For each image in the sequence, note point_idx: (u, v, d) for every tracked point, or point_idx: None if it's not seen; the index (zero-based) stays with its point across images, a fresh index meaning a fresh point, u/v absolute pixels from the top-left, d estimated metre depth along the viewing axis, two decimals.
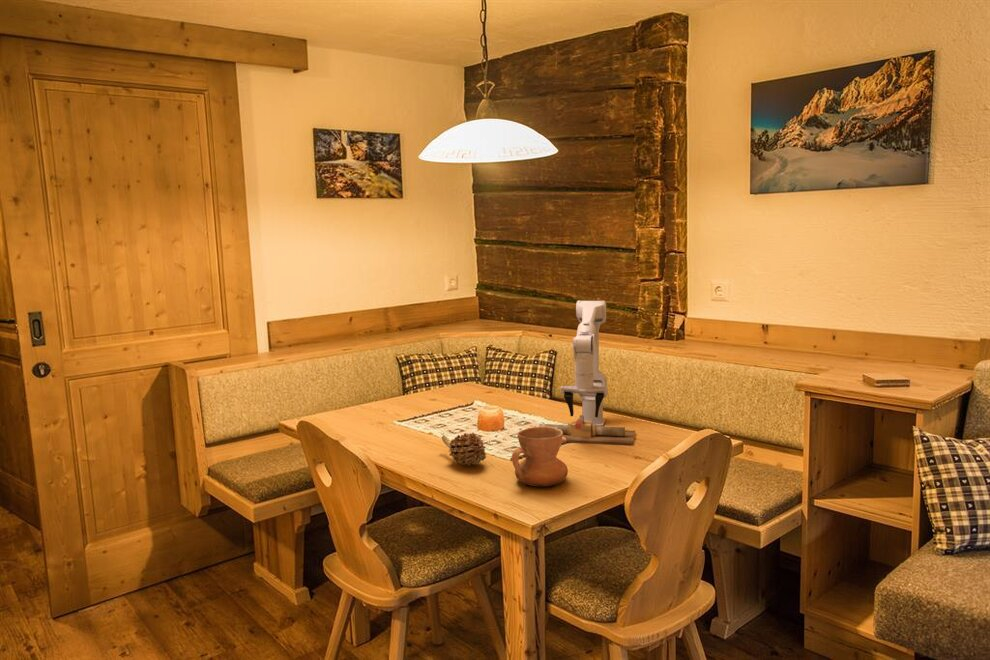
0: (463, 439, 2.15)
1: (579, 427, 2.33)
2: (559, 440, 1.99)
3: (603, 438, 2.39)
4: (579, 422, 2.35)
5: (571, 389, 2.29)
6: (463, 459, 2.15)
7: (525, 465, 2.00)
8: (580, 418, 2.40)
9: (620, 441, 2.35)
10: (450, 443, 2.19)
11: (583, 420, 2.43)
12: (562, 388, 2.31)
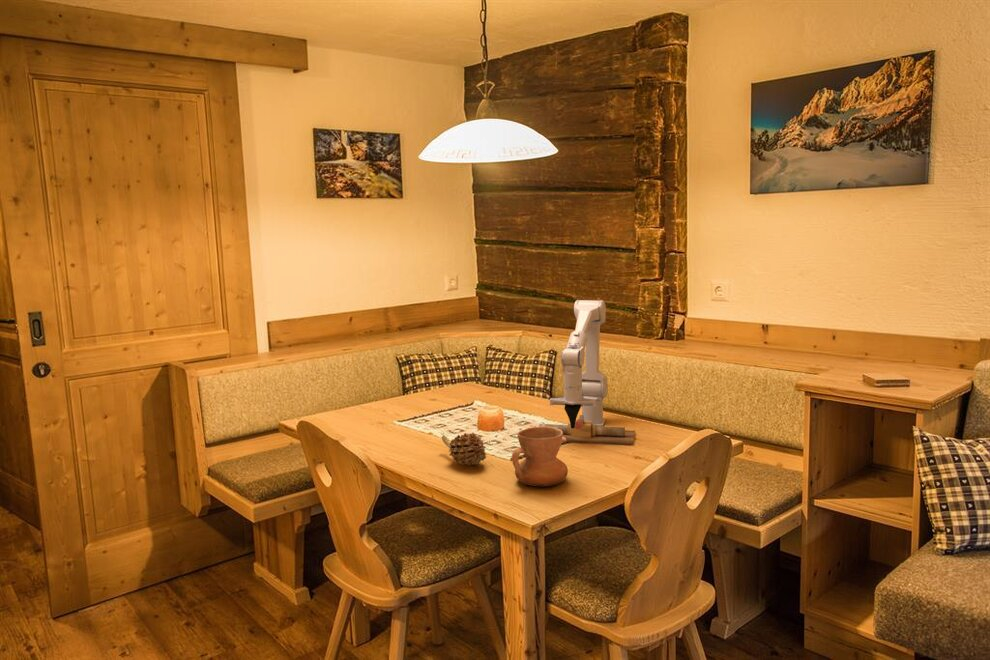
0: (463, 439, 2.15)
1: (579, 427, 2.33)
2: (559, 440, 1.99)
3: (603, 438, 2.39)
4: (579, 422, 2.35)
5: (560, 401, 2.34)
6: (463, 459, 2.15)
7: (525, 465, 2.00)
8: (580, 418, 2.40)
9: (620, 441, 2.35)
10: (450, 443, 2.19)
11: (583, 420, 2.43)
12: (551, 400, 2.35)
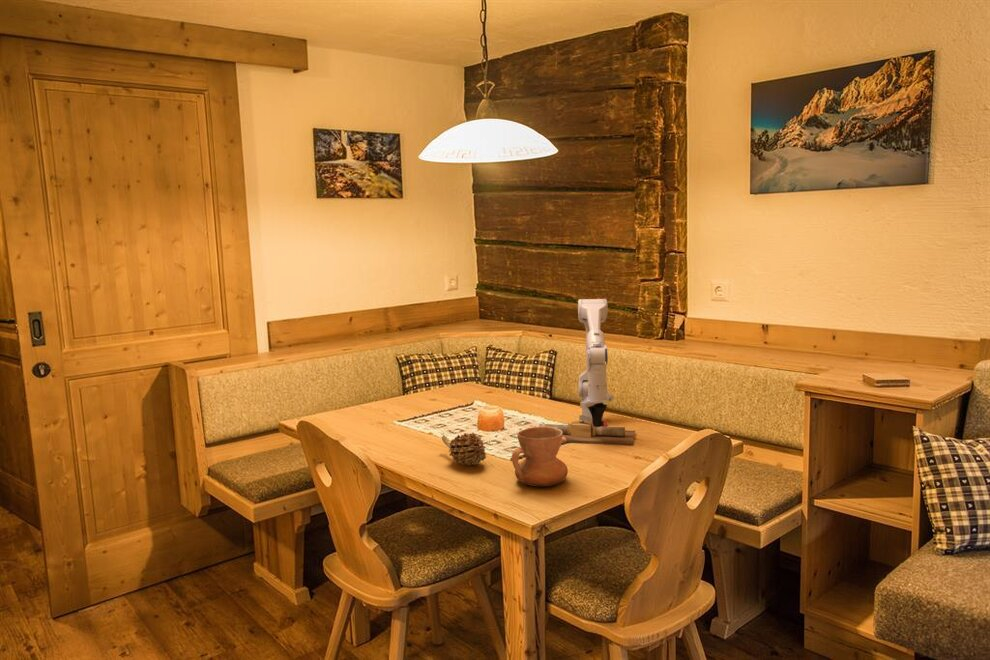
0: (463, 439, 2.15)
1: (606, 424, 2.36)
2: (559, 440, 1.99)
3: (603, 438, 2.39)
4: (602, 420, 2.37)
5: (594, 402, 2.31)
6: (463, 459, 2.15)
7: (525, 465, 2.00)
8: (589, 417, 2.41)
9: (620, 441, 2.35)
10: (450, 443, 2.19)
11: None
12: (586, 403, 2.30)
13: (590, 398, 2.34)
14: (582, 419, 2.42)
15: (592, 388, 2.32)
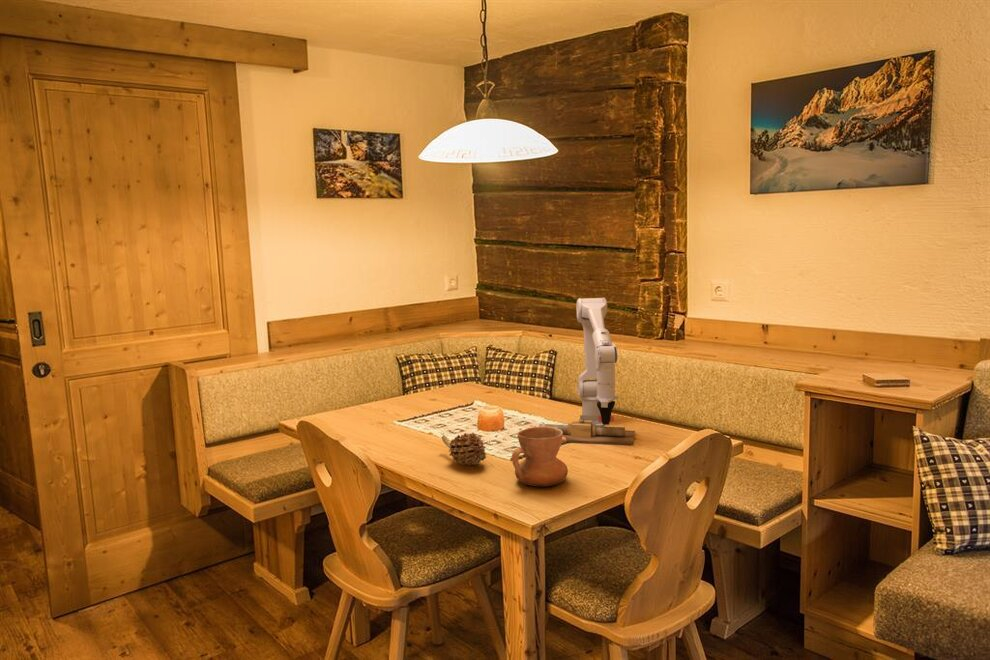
0: (463, 439, 2.15)
1: None
2: (559, 440, 1.99)
3: (603, 438, 2.39)
4: None
5: (611, 400, 2.34)
6: (463, 459, 2.15)
7: (525, 465, 2.00)
8: (592, 416, 2.42)
9: (620, 441, 2.35)
10: (450, 443, 2.19)
11: (583, 419, 2.44)
12: (607, 402, 2.31)
13: (603, 397, 2.35)
14: (584, 419, 2.43)
15: (606, 386, 2.34)
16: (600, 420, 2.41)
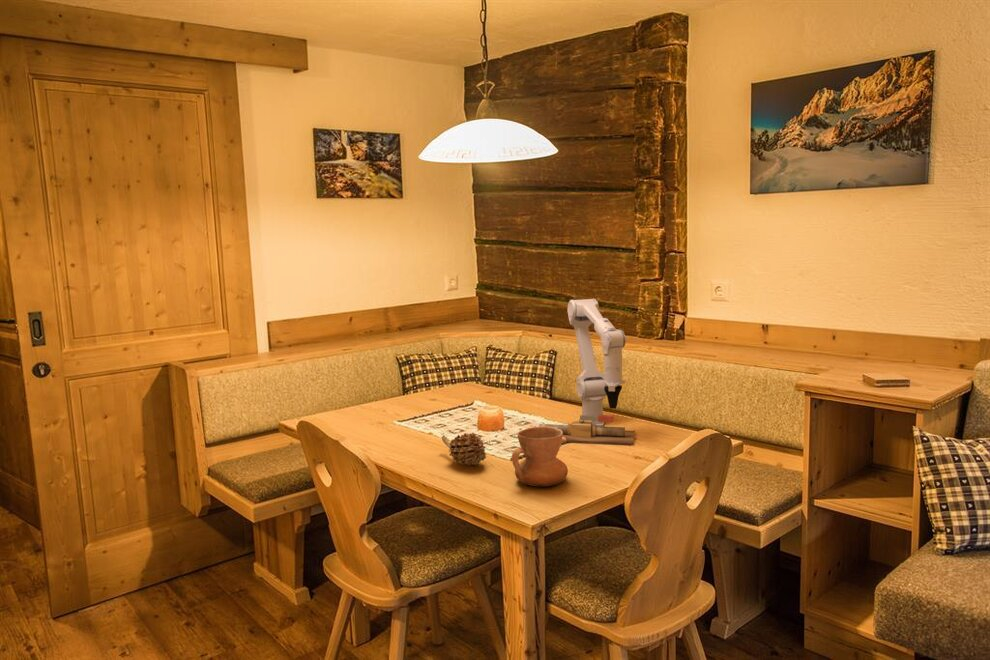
0: (463, 439, 2.15)
1: None
2: (559, 440, 1.99)
3: (603, 438, 2.39)
4: (609, 415, 2.42)
5: (618, 384, 2.38)
6: (463, 459, 2.15)
7: (525, 465, 2.00)
8: (592, 416, 2.42)
9: (620, 441, 2.35)
10: (450, 443, 2.19)
11: (583, 419, 2.44)
12: (615, 386, 2.36)
13: (611, 381, 2.40)
14: (584, 419, 2.43)
15: (613, 371, 2.39)
16: (600, 420, 2.41)
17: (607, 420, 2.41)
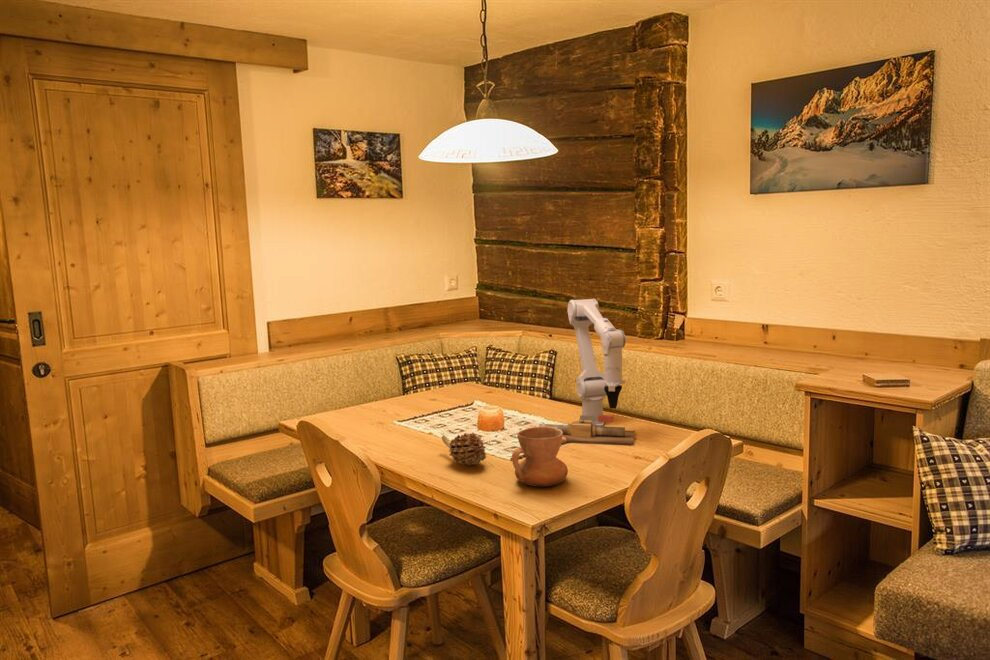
0: (463, 439, 2.15)
1: None
2: (559, 440, 1.99)
3: (603, 438, 2.39)
4: (609, 415, 2.42)
5: (618, 384, 2.38)
6: (463, 459, 2.15)
7: (525, 465, 2.00)
8: (592, 416, 2.42)
9: (620, 441, 2.35)
10: (450, 443, 2.19)
11: (583, 419, 2.44)
12: (615, 386, 2.36)
13: (611, 381, 2.40)
14: (584, 419, 2.43)
15: (613, 371, 2.39)
16: (600, 420, 2.41)
17: (607, 420, 2.41)
